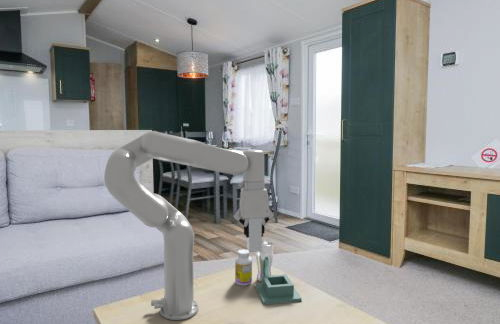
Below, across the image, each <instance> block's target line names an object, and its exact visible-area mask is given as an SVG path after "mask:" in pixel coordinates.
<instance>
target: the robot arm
mask: <svg viewBox="0 0 500 324" xmlns="http://www.w3.org/2000/svg"><path fill="white" fill-rule="evenodd" d="M152 159H155V160H160V161H164V162H171V163H175V164H180V165H184V166H185V165H186V166H190V167H193V168H197V169H198V168H199V169H205V170H209V171H214V172H219V173H224V174H229V175H233V176H237V175H238V176H239V175H242V181H240V182H239V183H238V186H239V187H241V189H240V194H239V204H238V205H239V208H238V209H237V211H236V212H235V213H234V215H233V218H234V220H236V221H237V222H239V223H240V224H242V225H243V235H244V236H245V237H246V239H247V238H248V237H249V227H248V219H257V218H262V237H264V234H265V233H266V232H265V231H266V230H265V226H266V224H267V223H268V222H269V221H270V220H271V219H272V218H274V216H275V214H274V213H273V212H272V210H271V209H270V201H269V194H268V189H267V188H266V187H265V153H264V151H263V150H260V149H247V150H237V149H235V150H234V149H227V148H226V149H225V148H222V147H219V146H218V147H217V146H213V145H211V144H210V145H209V144H207V143H204V142H202V141H199V140H196V139H192V138H186V137H182V136H178V135H172V134H170V133H169V134H168V133H165V132H159V131H156V130H151V131H147V132H145V133H144V134H142V135H140V136H139V137H137V138H136V139H134V140H132V141H130V142H128V143H127V144H124V145H123V146H121V147H119V148H117V149H115V150H114V151H113V152H112V153H111V154H110V155H109V156H108V159H107V161H106V165H105V169H104V174H103V175H104V177H103V178H104V185H105V187H106V189H107V191H108V193H109V194H110V195H111V196H112V197H113V198H114V199H115V200H116V201H117V202H118V203H119V204H121V205H122V206H123V207H124V208H125V209H126V210H127V211H129V212H130V213H131V214H132V215H133V216H135V217H136V218H137V219H138V220H139V221H140V222H141V223H142V224H144V225H145V226H147V227H149V228H155V229H156V230H158V231H159V232H160V233H161V234H162V237H163V268H164V269H163V270H164V272H163V273H164V279H163V280H164V295H163V297H162V298H160V299H151V300H150V303H151V305H150V306H151V307H154V308H153V309H154V310H155V309H156V310H157V309H160V310H159V311H160V312H159V313H160V316H161V317H163V318H164V319H167V320H170V321H181V320H186V319H190V318H191V317H193V316H195V315H196V314H197V313H198V311H199V304H198V302H197V301H195V299H194V296H195V294H194V292H195V291H194V247H195V246H194V245H195V233H194V229H193V226H192V225H191V223H190V221H189V220H188V219H187V217H186V216H185V215H184V214H183V213H182V212H180V211H179V210H178V209H177V208H176V207H175V206H173V205H172V204H171V203H170V202H168V200H167V199H165V197H163V196H161V195H160V194H158V193H154V192H153V193H152V192H150V191H149V190H148V189H147V188H146V187H145V186H144V185H143V184H141V183H140V182H139V181H138V180H137V179H136V178H135V177H136V176H135V172H136V170H137V168H138V167H141V166H142V165H144V164H145V163H147V162H149V161H151V160H152Z"/></svg>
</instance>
